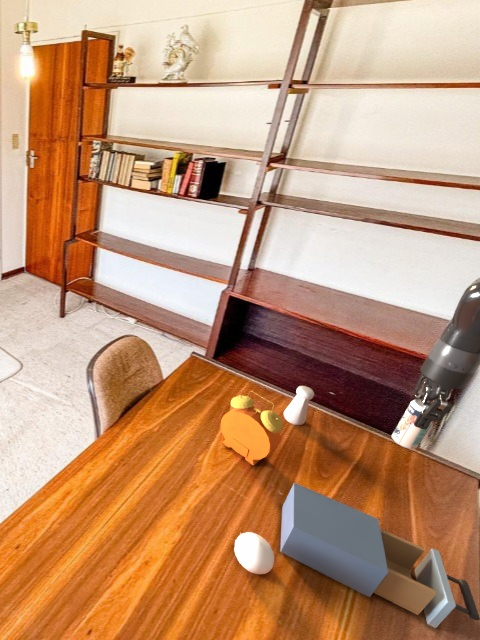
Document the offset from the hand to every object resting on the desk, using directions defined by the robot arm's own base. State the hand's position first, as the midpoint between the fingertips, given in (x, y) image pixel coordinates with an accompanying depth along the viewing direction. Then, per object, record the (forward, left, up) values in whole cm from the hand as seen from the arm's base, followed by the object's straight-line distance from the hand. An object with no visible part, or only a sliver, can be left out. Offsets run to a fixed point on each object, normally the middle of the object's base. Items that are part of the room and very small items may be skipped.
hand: (417, 419), depth 93 cm
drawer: (0, +28, -22) cm, 36 cm away
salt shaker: (+19, -14, -23) cm, 33 cm away
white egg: (+27, +39, -23) cm, 53 cm away
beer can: (0, 0, -8) cm, 8 cm away
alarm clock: (+31, +8, -23) cm, 40 cm away
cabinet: (+13, +28, -23) cm, 39 cm away
